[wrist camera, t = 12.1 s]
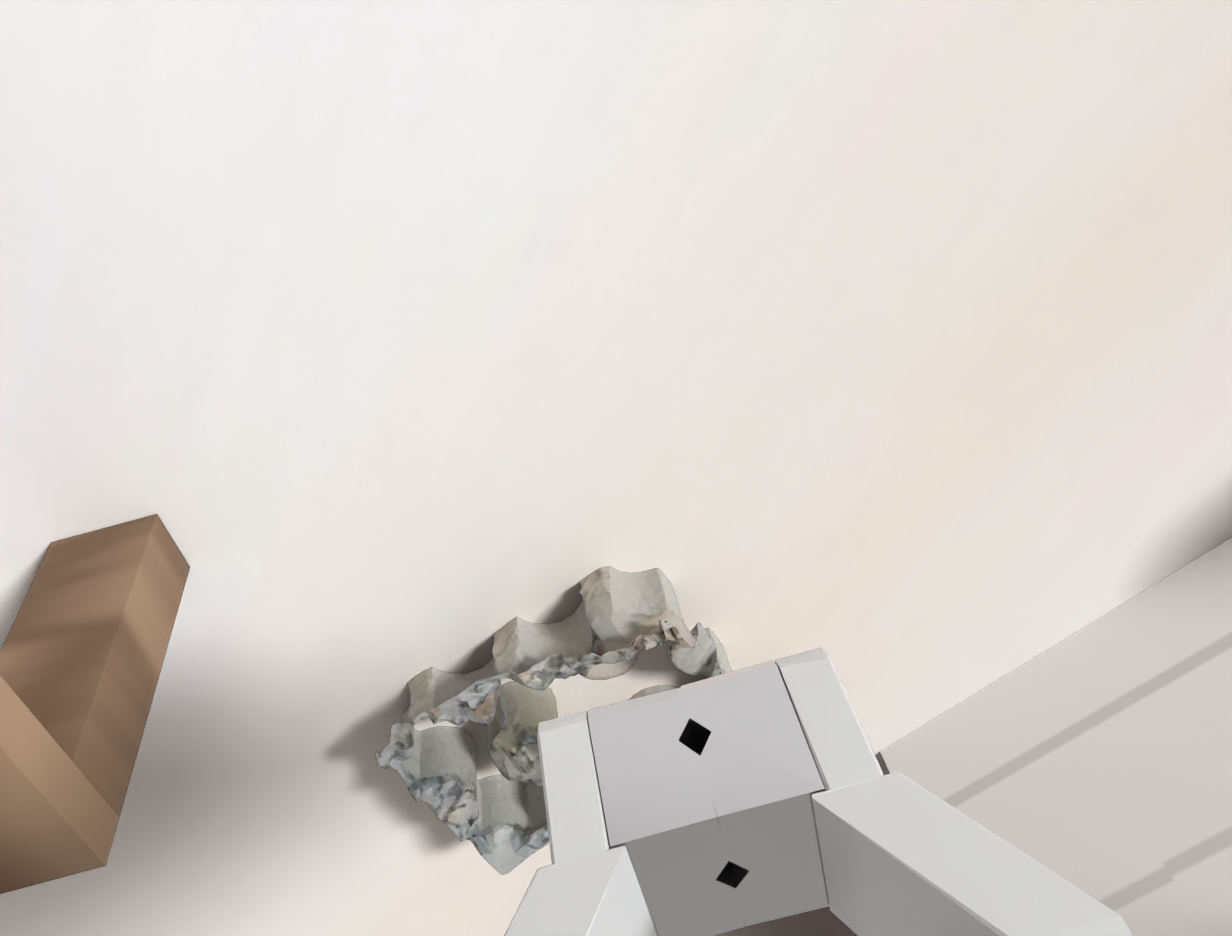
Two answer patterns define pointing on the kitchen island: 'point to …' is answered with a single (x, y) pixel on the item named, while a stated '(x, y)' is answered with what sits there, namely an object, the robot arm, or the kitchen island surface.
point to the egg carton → (532, 706)
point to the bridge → (81, 694)
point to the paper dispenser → (1110, 755)
